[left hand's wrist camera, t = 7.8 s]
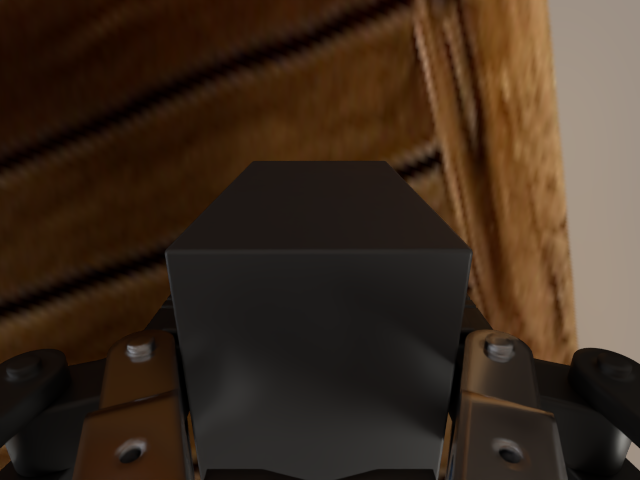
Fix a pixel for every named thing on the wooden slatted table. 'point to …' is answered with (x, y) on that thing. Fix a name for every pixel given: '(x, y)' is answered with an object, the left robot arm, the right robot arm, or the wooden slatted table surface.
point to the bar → (319, 321)
